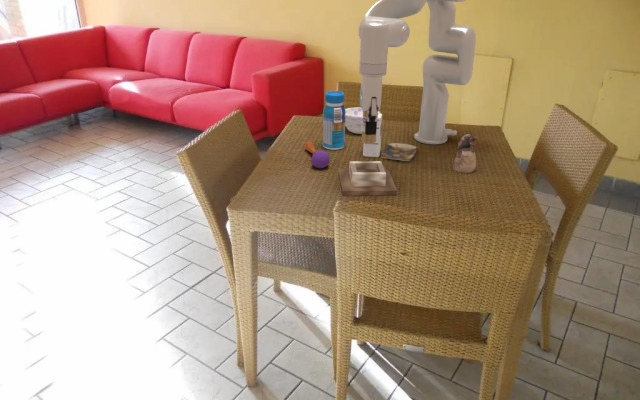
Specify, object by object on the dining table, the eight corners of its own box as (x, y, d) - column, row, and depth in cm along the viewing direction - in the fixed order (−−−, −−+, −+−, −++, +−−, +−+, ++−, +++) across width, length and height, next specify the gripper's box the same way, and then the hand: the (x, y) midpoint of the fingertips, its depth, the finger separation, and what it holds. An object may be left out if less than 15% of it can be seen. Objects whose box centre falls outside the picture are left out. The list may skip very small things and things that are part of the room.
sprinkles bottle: (358, 141, 143) (360, 96, 137) (366, 137, 146) (369, 93, 140) (370, 145, 141) (373, 99, 135) (379, 141, 144) (382, 96, 138)
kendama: (318, 138, 175) (333, 154, 158) (315, 154, 177) (330, 171, 160) (302, 136, 174) (315, 152, 156) (299, 152, 176) (312, 170, 158)
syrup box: (379, 157, 169) (381, 117, 163) (362, 156, 170) (364, 116, 164) (380, 151, 174) (383, 112, 168) (364, 150, 175) (366, 111, 169)
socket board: (387, 173, 157) (388, 157, 155) (396, 195, 143) (398, 178, 141) (338, 173, 157) (339, 157, 154) (342, 195, 142) (343, 178, 140)
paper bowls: (367, 122, 204) (368, 104, 201) (386, 133, 192) (387, 114, 188) (335, 127, 199) (335, 108, 195) (352, 138, 187) (352, 119, 183)
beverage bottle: (318, 148, 177) (319, 94, 168) (327, 141, 184) (328, 89, 175) (340, 151, 174) (342, 97, 165) (348, 144, 181) (350, 91, 172)
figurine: (459, 163, 166) (465, 129, 160) (478, 169, 161) (484, 134, 156) (448, 168, 161) (453, 134, 156) (467, 175, 157) (473, 139, 151)
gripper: (356, 62, 141) (353, 122, 150) (363, 75, 126) (359, 141, 135) (381, 62, 142) (377, 122, 150) (391, 75, 127) (386, 141, 135)
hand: (369, 130), depth 142 cm, fingers closed on sprinkles bottle, 4 cm apart
